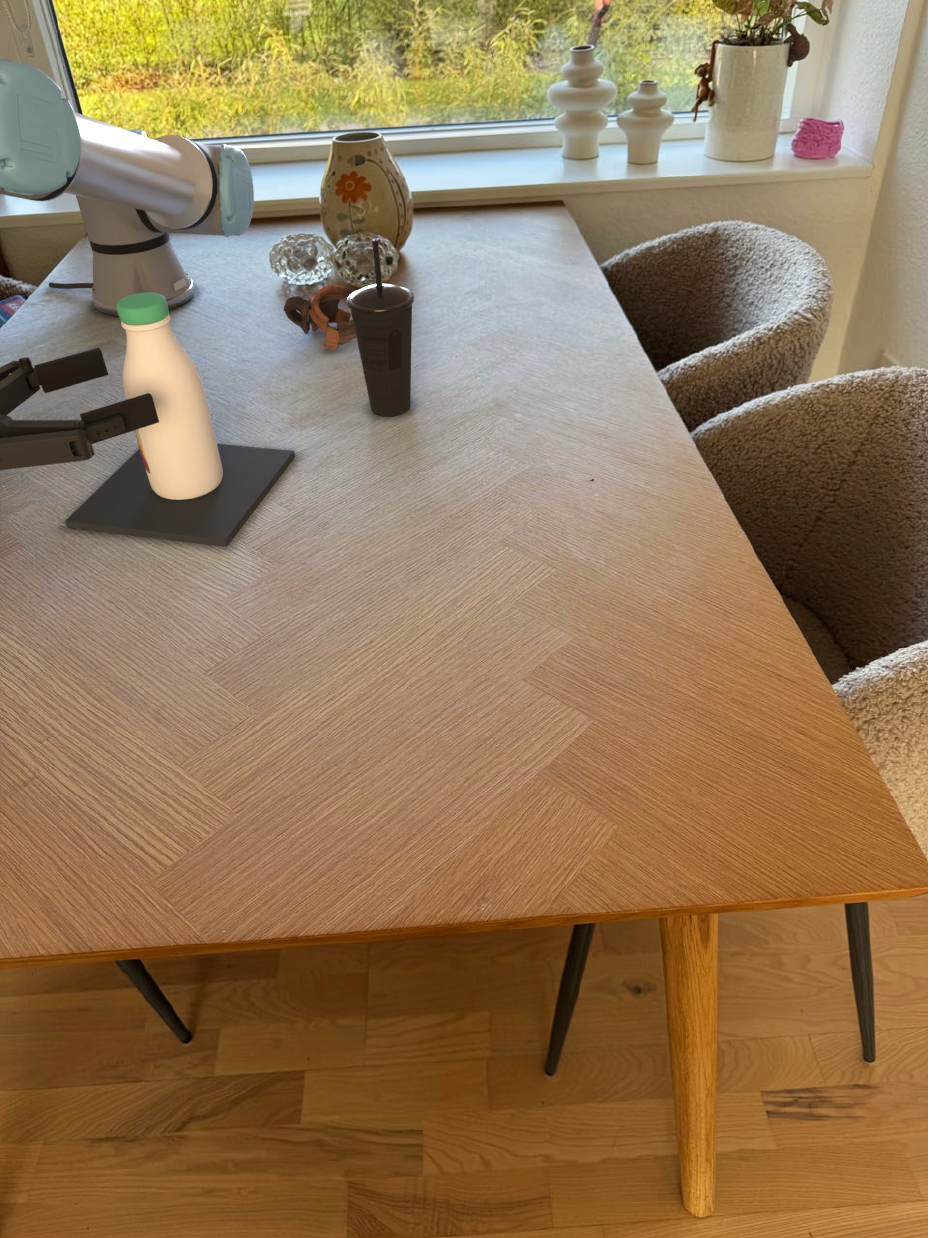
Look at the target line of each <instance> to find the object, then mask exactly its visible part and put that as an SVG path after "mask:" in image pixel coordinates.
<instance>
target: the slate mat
mask: <svg viewBox="0 0 928 1238" xmlns="http://www.w3.org/2000/svg"><path fill="white" fill-rule="evenodd" d="M217 447H218V451H219V455H220V460H221V464H222V469H223V477H222V481H221V483H220V484H219V485H218V486H217V487H216V488H215V489H214V490H212V491H211V492H209V493H207V494H205V495H202V496H199V497H195V498H191V499H185V500H172V499H166V498H163V497H161V496H159V495H157V494H156V493H155V492H154V490H153V489H152V487H151V485H150V482H149V479H148V475H147V472H146V468H145V465H144V462H143V458H142V455H141V451H140V448H138V449H137V450H136V451H135V452H134V454H132V455H131V456H130V457H129V458H128V459H127V460H126V461H125V462H124V463H123V464H122V465H121V466H120V467H119V468H117V470H116V471H115V472H114V473H113V474H112V475H111V476H109V478H108V479H106V480H105V482H103V483H102V484H101V485H100V486H99V488H97V489H96V490H95V492H93V493H92V494H91V495H90V496H89V497H88V498H87V499H86V500H85V501H84V502H83V503H82V504H81V505H80V506H79V507H77V509H76V510H75V511H74V512H73V513H71V515H69V517H67V519H66V520H65V521H64V523H65V526H66V528H67V529H68V528H69V529H74V530H75V529H76V530H77V529H78V530H85V531H93V532H102V533H109V534H119V535H127V536H134V537H141V538H143V537H144V538H151V539H160V540H167V541H168V540H169V541H175V542H176V541H177V542H183V543H184V542H186V543H194V544H202V545H209V546H217V547H228V545H229V544H230V543H231V542H232V540H233V539H234V538H235V536H236V535H237V534H238V532H239V531H240V530H241V528H242V527H243V526H244V524H245V523H246V522H247V520H248V519H249V518H250V517H251V516H252V515H253V512H254V511H255V510H256V509H257V507H258V506H260V503H261V502H262V501H263V500H264V498H265V497H266V496H267V494H268V493H269V492H270V491H271V489H272V488H273V486H274V485H275V484H276V483H277V481H278V480H279V479H280V477H281V476H282V475H283V473H284V472H285V471H286V470H287V468H288V467H289V466H290V465H291V463H292V462H293V460H294V459H295V458H296V455H295V454H296V453H295V451H294V450H289V449H279V448H278V449H277V448H266V447H255V446H246V445H235V444H227V443H226V444H225V443H217Z"/></svg>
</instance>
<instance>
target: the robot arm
mask: <svg viewBox="0 0 928 1238" xmlns="http://www.w3.org/2000/svg"><path fill="white" fill-rule="evenodd" d="M62 92H63V91H62V89H61V87H60V86H59V85H58V84H57V82H55V80H54V79H52V78H51V77H50V76H49V75H48V74H46V73H45V72H43V70H41V69H39V68H37V67H36V66H33V65H30V64H27V63H24V62H19V61H15V60H11V59H8V58H7V59H6V58H0V195H3V196H8V197H13V198H18V199H23V200H28V201H34V202H47V201H52V200H55V199H57V198H59V197H60V196H62V195H63V194H68V195H73V196H75V198H76V201H77V205H78V209H79V211H80V215H81V217H82V221H83V225H84V228H85V232H86V235H87V239H88V241H89V244H90V249H91V252H92V282H74V283H73V282H71V283H57V282H48V287H49V288H51V289H60V290H73V289H74V290H75V289H91V297H92V300H93V304H94V306H95V309H96V310H98V312H101V313H102V314H106V315H110V316H117V317H119V315H118V312H117V303H118V301H119V300H121V299H122V298H124V297H126V296H129V295H133V294H138V293H158V294H161V295H163V296H164V297H165V299H166V302H167V305H168V310H172V309H175V308H178V307H180V306H182V305H184V304H186V303H187V302H188V301H191V299H192V298H193V297H194V295H195V287H194V283H193V279H192V278H191V275H190V273H189V272H188V271H187V270H186V269H185V267H184V265H183V263H182V260H181V258H180V256H179V255H178V252H177V251H176V249H175V247H174V245H173V243H172V240H171V236H170V233H171V234H189V235H205V236H223V237H224V238H229V237H231V236H232V237H233V236H234V237H236V236H238V237H239V236H241V235H244V234H245V232H246V231H247V230H248V229H249V227H250V225H251V220H252V218H253V213H254V205H255V188H254V179H253V174H252V170H251V166H250V163H249V160H248V159H247V157H246V155H245V153H244V151H242V150H241V149H240V148H239V147H237V146H234V145H227V144H226V143H222V144H221V145H212V144H204V143H201V142H197V141H194V140H192V139H189V138H186V137H183V136H181V135H177V134H176V135H175V134H165V135H161V136H158V137H156V138H154V139H153V138H151V137H148V136H147V134H146V132H145V131H144V130H142V129H126V128H125V129H124V128H121V127H119V126H116V125H114V124H110V123H108V122H104V121H102V120H99V119H96V118H93V117H90V116H88V115H85V114H82V113H79V112H76V111H74V109H73V106H72V104H71V102H70V100H69V99H68V98H66V97H63V96H62ZM106 376H109V371H108V368H107V365H106V362H105V358H104V355H103V352H102V349H101V348H100V347H96V348H92V349H88V350H84V351H81V352H77V353H73V354H71V355H66V356H64V357H59V358H56V359H52V360H49V361H46V362H42V363H38V364H35V365H34V367H33V363H32V360H31V358H30V357H28V356H26V357H20V358H18V360H12V361H10V362H7V363H6V364H3V365H1V366H0V472H1V471H6V470H14V469H24V468H32V467H42V466H51V465H58V464H67V463H76V462H84V461H88V460H90V459H92V457H94V456H95V455H96V453H95V450H94V447H93V445H94V444H96V443H100V442H103V441H106V440H109V439H112V438H115V437H118V436H121V435H125V434H127V433H130V432H135V431H134V430H137V429H140V428H143V427H146V426H149V425H152V424H155V423H159V419H158V416H157V412H156V408H155V405H154V401H153V397H152V395H151V394H150V393H147V394H144V395H140V396H137V397H134V398H131V399H127V400H126V399H124V400H121V401H118V402H114V403H112V404H108V405H105V406H102V407H99V408H96V409H92V410H88V411H86V412H81V413H79V416H80V419H13V418H12V417H11V416H9V414H11V412H13V411H14V410H15V409H17V408H18V407H20V406H21V405H22V404H23V403H24V402H26V401H27V400H28V399H30V398H31V397H32V396H34V395H35V394H36V393H38V392H39V391H40V390H41V389H42V391H43V393H44V394H48V393H52V392H55V391H59V390H62V389H66V388H69V387H72V386H75V385H79V384H83V383H86V382H89V381H92V380H93V381H94V380H96V379H100V378H104V377H106Z"/></svg>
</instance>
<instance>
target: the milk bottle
mask: <svg viewBox="0 0 928 1238" xmlns="http://www.w3.org/2000/svg"><path fill="white" fill-rule="evenodd" d="M117 312H118V315H119V316H118V318H119V320H120V322H121V323H120V326H121V327H122V328H123V329H124V330H125V334H126V335H125V336H126V350H125V356H124V361H123V367H122V386H123V387H122V388H123V393H124V397H125V400H127V399H131V398H134V397H137V396H140V395H144V394H147V393H150V394H151V395H152V397H153V401H154V405H155V408H156V412H157V416H158V419H159V423H155V424H152V425H149V426H146V427H143V428H140V429H137V430H134V431H133V432H134V434H135V438H136V441H137V445H138V447H139V448H138V449H140V451H141V455H142V458H143V462H144V465H145V468H146V472H147V475H148V479H149V482H150V485H151V487H152V489H153V490H154V492H155V493H156V494H157V495H159V496H161V497H163V498H166V499H172V500H185V499H191V498H195V497H199V496H202V495H205V494H207V493H209V492H211V491H212V490H214V489H215V488H216V487H217V486H218V485H219V484H220V483H221V481H222V477H223V469H222V464H221V460H220V455H219V451H218V447H217V444H218V442H217V439H216V435H215V434H216V433H215V431H214V425H213V421H212V417H211V413H210V409H209V404H208V401H207V397H206V393H205V389H204V386H203V382H202V379H201V376H200V373H199V371H198V368H197V366H196V365H195V362H194V361H193V359H192V358H191V356H190V355H189V353H188V352H187V350H185V348H184V347H183V346H182V344H181V343H180V342H179V340H178V339H177V337H176V335H175V334H174V332H173V330H172V328H171V324H170V321H171V319H172V318H171V315H170V313H169V310H168V305H167V302H166V299H165V297H164V296H163V295H161V294H158V293H138V294H133V295H129V296H126V297H124V298H122V299H121V300H119V301H118V303H117Z"/></svg>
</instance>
